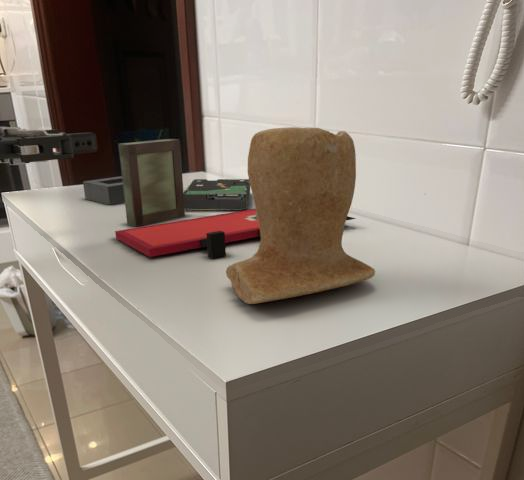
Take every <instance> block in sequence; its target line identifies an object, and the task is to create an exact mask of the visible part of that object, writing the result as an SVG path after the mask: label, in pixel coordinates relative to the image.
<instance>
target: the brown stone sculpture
mask: <svg viewBox="0 0 524 480" xmlns="http://www.w3.org/2000/svg"><path fill="white" fill-rule="evenodd" d="M356 157H357V154H356V146H355V143H354V140H353V138H352V136H351V135H350V134H349V133H348V132H347V131H346V130H345V131H344V130H340V131H338V132H337V133H336V134H335V133H333V132H330V131H329V130H326V129H323V128H321V127H299V126H298V127H294V126H293V127H275V128H269V129H263V130H260V131H258V132H256V133H255V134H253V136H252V137H251V139H250V144H249V148H248V155H247V176H248V177H247V178H248V179H249V183H250V191H251V194H252V198H253V202H254V203H253V204H254V209H256V212H257V218H258V223H259V228H260V235H261V236H260V241H259V242H260V243H259V247H258V249H257V252H255V253H254V254H253V255H252V256H251V257H249V258H247V259H243V260H240V261H238V262H234V263H232V264H229V265H228V266H227V267H226V270H225V274H226V277H227V278H228V279H229V280H230V283H231V287H232V289H234V292H235V293H236V295H237V297H238V298H239V299H240V300H242V302H244V303H245V304H247V305H255V304H261V303H268V302H273V301H278V300H286V299H290V298H296V297H300V296H305V295H306V296H307V295H312V294H315V293H320V292H324V291H329V290H334V289H337V288H341V287H342V288H343V287H347V286H350V285H353V284H356V283H361V282H364V281H367V280H370V279H371V278H373V277H374V276H375V273H376V270H375V268H374V267H371V266H370V265H368V264H367V263H365V262H363V261H361V260H359V259H357V258H354V257H352V256H350V255H349V254H347V253H346V252H345V250H344V248H343V245H342V244H343V243H342V241H343V235H344V230H345V225H346V222H347V220H346V218H347V216H348V215H349V212H350V210H351V207H352V203H353V199H354V195H355V194H354V193H355V189H356V181H357V158H356Z"/></svg>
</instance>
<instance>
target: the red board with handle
mask: <svg viewBox="0 0 524 480" xmlns="http://www.w3.org/2000/svg"><path fill="white" fill-rule="evenodd" d="M355 219H356V220H357V218H356V217H352V216H348V215H347V218H346V221H351V220H355ZM114 233H115V239H116V240H119V241H120V242H122V243H124V244H126V245H127V246H129V247H130V248H133V249H134V250H137V251H138V252H140V253H141V254H143V255H146V256H147V257H149V258H151V257H157V256H162V255H168V254H173V253H179V252H184V251H188V250H194V249H200V248H201V249H202V248H207V257H208V258H209V259H211V260H213V259H217V258H221V257H222V258H223V257H226V256H227V251H226V249H227V248H226V243H232V242H237V241H243V240H247V239H252V238H258V237H261V235H260V228H259V223H258V218H257V212H256V208H252V209H243V210H239V211H232V212H226V213H220V214H213V215H208V216H202V217H201V216H200V217H196V218H195V217H194V218H188V219H183V220H182V219H181V220H175V221H170V222H163V223H157V224H149V225H143V226H137V227H132V228H126V229H119V230H115V231H114Z"/></svg>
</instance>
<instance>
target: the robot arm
mask: <svg viewBox="0 0 524 480" xmlns="http://www.w3.org/2000/svg"><path fill="white" fill-rule="evenodd" d="M98 148H99V147H98V139H97V135H96V133H94V132H75V133H65V132H62V131H61V130H60V129H54V128H53V129H44V128H43V129H41V128H40V129H27V128H21V127H16V126H15V127H13V126H10V127H8V126H0V164H9V165H10V166H21V165H24V164H30V163H46V162H49V161H56V160H64V159H65V160H71V159H74V158H75V157H74V156H75V155H80V154H81V155H82V154H91V153H97V151H98ZM54 149H58V151H54Z"/></svg>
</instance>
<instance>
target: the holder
mask: <svg viewBox="0 0 524 480" xmlns="http://www.w3.org/2000/svg"><path fill="white" fill-rule="evenodd" d="M82 184H83V192H84V198H85V200H87V201H92V202H96V203H100V204H103V205H104V204H105V205H108V206H112V205H119V204H123V203H124V204H125V199H124V190H123V181H122V175H120V176H115V177H105V178H99V179H98V178H97V179H91V180H85V181H82Z"/></svg>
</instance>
